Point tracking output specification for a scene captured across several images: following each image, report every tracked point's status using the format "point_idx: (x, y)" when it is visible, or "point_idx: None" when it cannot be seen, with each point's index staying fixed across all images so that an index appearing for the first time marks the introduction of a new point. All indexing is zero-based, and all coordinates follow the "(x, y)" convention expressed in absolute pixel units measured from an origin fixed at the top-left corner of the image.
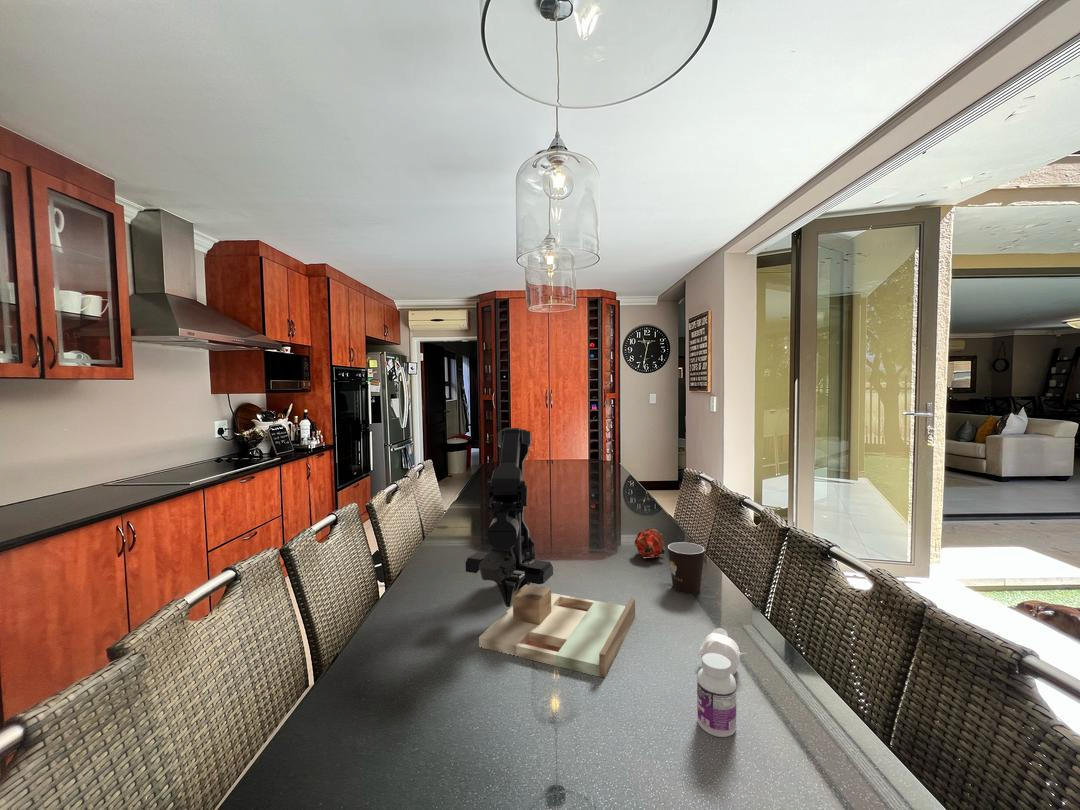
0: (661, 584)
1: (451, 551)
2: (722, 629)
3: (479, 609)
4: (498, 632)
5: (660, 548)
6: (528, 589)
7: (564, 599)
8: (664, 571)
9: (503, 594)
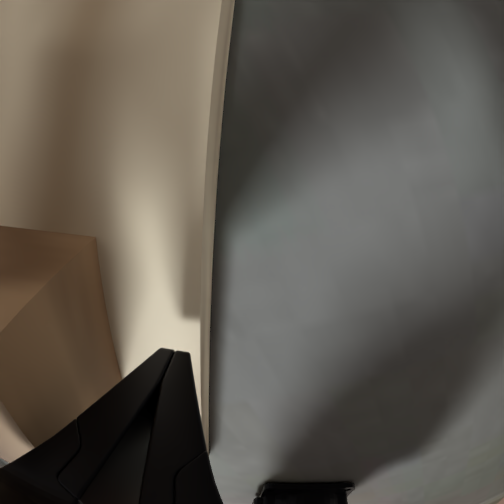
0: None
1: (481, 497)
2: None
3: (407, 354)
4: (110, 22)
5: None
6: (2, 442)
7: None
8: None
9: (178, 430)
